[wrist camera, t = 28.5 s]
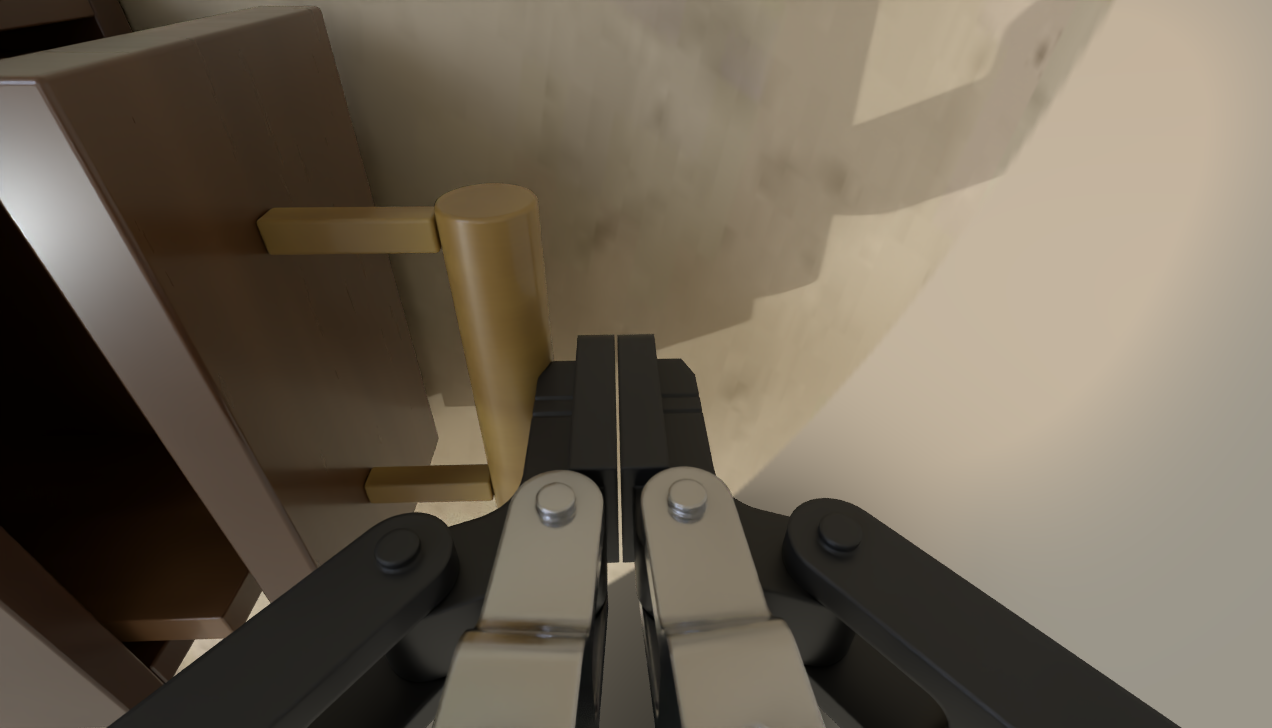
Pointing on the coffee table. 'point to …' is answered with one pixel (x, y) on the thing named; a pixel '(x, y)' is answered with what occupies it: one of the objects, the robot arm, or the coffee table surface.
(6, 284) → the drawer
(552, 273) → the coffee table surface
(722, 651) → the robot arm
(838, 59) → the coffee table surface
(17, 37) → the cabinet
